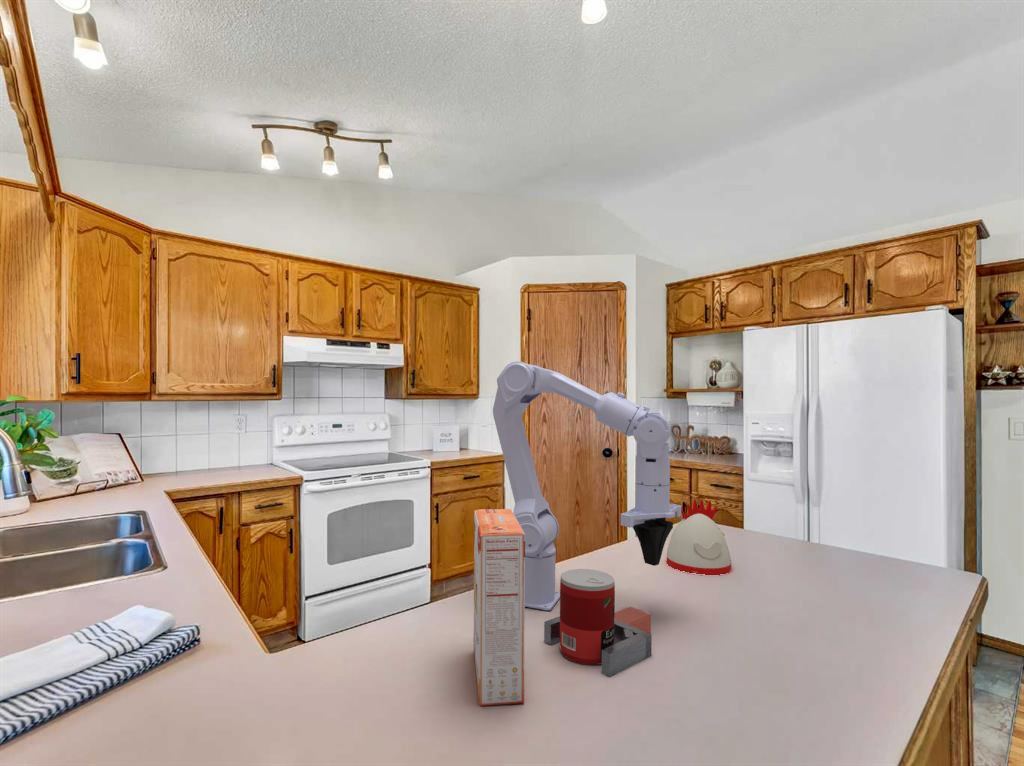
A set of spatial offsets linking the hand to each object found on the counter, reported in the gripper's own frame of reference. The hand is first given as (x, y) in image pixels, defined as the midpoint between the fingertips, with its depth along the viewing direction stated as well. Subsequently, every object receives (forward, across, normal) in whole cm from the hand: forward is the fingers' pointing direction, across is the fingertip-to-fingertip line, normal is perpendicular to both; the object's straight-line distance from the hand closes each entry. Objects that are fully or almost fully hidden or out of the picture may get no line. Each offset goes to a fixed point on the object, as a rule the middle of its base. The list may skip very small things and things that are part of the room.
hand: (651, 563), depth 88 cm
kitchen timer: (+10, +33, +11) cm, 36 cm away
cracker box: (+10, -32, +2) cm, 33 cm away
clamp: (+9, -12, -1) cm, 16 cm away
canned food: (+10, -18, -1) cm, 20 cm away
